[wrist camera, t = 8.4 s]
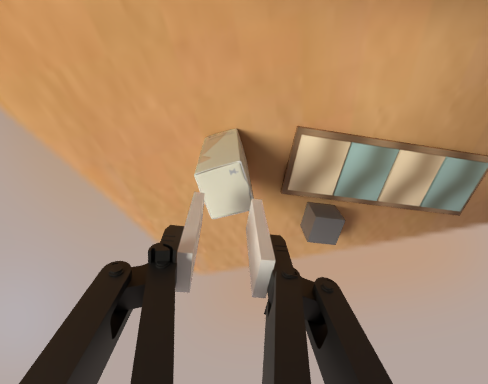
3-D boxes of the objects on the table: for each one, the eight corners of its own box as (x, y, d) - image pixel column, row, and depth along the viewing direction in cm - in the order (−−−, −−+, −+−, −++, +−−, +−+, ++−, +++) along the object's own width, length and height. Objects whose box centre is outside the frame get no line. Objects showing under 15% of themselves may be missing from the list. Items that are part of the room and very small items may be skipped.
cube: (300, 225, 38) (307, 241, 34) (307, 201, 36) (315, 216, 32) (325, 227, 38) (335, 244, 35) (334, 204, 36) (345, 220, 33)
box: (203, 136, 31) (191, 171, 21) (237, 127, 31) (241, 157, 21) (217, 175, 33) (211, 221, 23) (248, 166, 33) (256, 210, 23)
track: (280, 191, 35) (281, 194, 34) (297, 125, 31) (298, 127, 30) (456, 213, 38) (461, 216, 37) (491, 156, 34) (497, 158, 33)
